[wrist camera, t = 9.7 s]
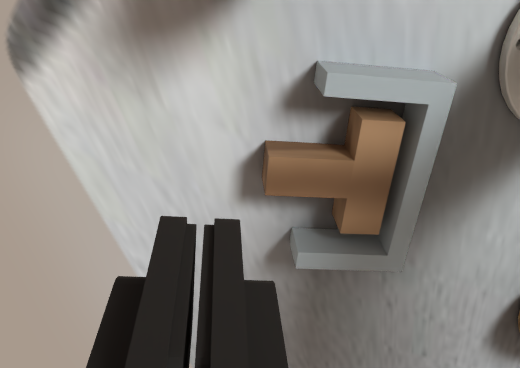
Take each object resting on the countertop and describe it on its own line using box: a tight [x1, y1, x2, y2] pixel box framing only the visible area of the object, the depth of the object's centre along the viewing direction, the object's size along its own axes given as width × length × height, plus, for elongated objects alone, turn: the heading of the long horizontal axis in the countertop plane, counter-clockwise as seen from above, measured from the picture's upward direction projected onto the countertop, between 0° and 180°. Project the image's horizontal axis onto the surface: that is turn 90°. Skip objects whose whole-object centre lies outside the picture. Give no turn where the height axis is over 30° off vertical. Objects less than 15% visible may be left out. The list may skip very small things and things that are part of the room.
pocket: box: [290, 61, 457, 272], centre depth 33 cm, size 8×15×4 cm, turn 174°
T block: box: [262, 106, 406, 235], centre depth 33 cm, size 9×9×3 cm
